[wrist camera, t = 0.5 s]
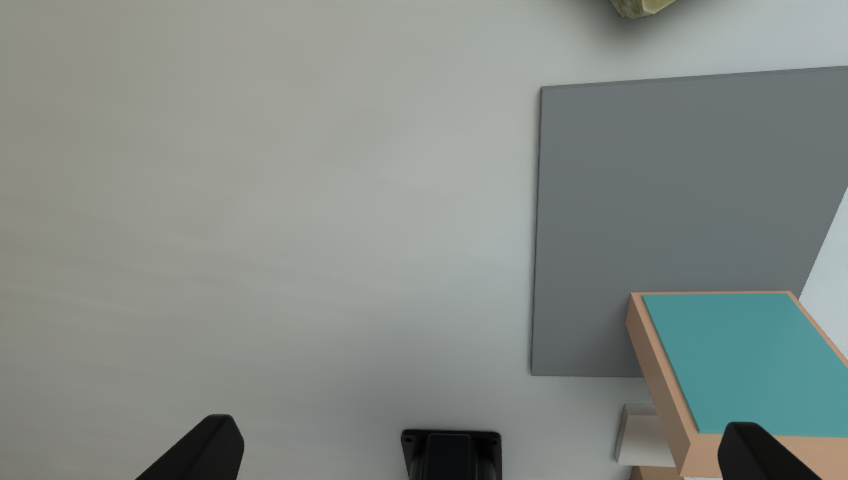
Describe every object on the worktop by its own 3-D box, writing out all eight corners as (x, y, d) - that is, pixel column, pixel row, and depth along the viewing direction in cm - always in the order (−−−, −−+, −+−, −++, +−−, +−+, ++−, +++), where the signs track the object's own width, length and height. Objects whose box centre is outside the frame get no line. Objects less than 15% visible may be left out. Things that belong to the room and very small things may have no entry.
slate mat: (759, 371, 26) (764, 378, 25) (531, 368, 27) (531, 375, 27) (889, 62, 17) (899, 66, 16) (541, 86, 19) (542, 90, 18)
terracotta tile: (777, 322, 23) (895, 485, 17) (625, 323, 24) (679, 476, 17) (791, 287, 22) (925, 447, 15) (631, 289, 23) (691, 440, 16)
